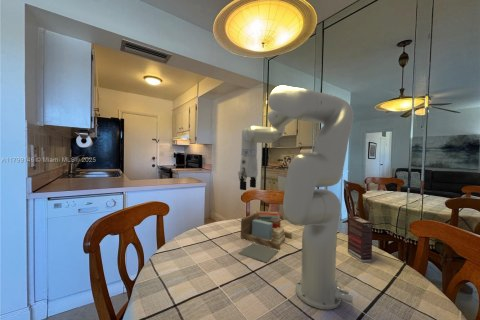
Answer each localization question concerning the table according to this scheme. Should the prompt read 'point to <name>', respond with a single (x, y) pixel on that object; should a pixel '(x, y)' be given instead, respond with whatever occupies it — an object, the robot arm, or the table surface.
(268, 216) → the medicine box
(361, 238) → the supplement box
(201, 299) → the table surface
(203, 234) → the table surface
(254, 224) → the grey blue block
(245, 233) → the rack
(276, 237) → the offcut stack
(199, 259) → the table surface
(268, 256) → the mat
